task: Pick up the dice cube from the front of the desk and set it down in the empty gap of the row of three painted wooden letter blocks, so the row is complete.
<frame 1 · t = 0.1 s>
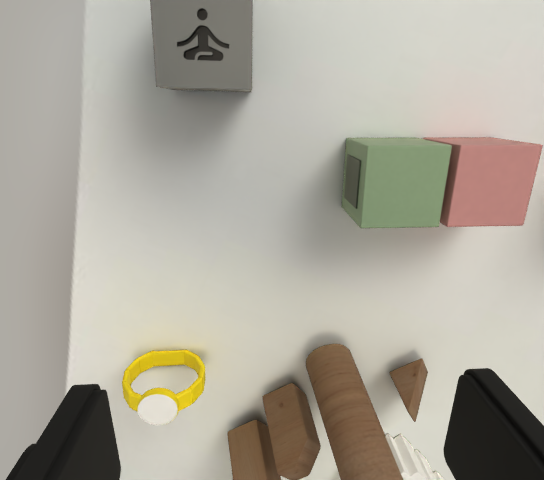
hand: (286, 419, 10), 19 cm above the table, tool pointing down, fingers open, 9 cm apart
letter block A: (377, 173, 27), on the table
letter block B: (451, 172, 27), on the table
watch: (172, 354, 32), on the table
dice cube: (211, 48, 24), on the table
wooden block set: (317, 385, 34), on the table
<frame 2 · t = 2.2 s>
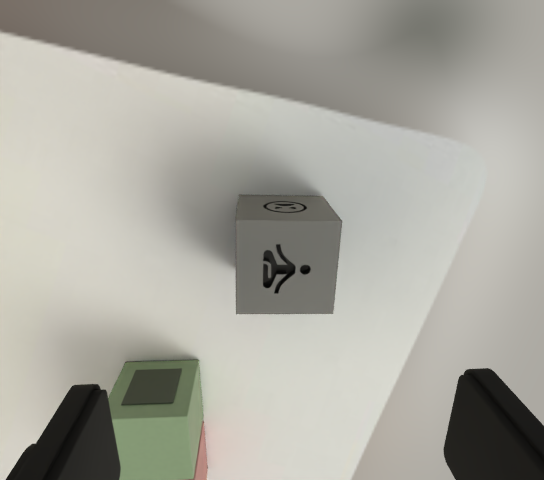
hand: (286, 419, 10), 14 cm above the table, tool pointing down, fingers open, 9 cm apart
letter block A: (165, 389, 27), on the table
letter block B: (172, 447, 28), on the table
dice cube: (279, 234, 23), on the table
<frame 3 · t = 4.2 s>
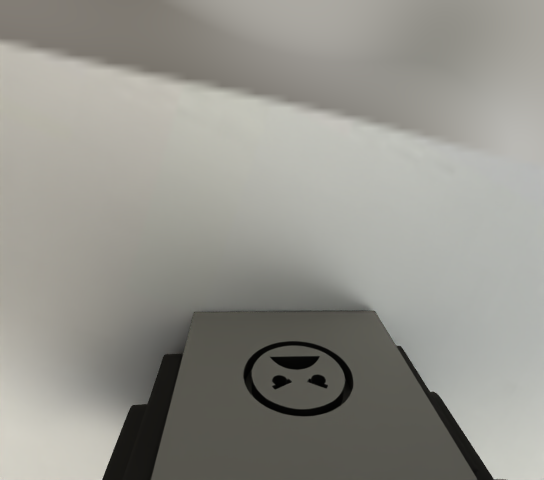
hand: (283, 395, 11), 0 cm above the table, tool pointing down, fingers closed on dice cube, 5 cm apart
dice cube: (281, 380, 11), on the table, touching gripper
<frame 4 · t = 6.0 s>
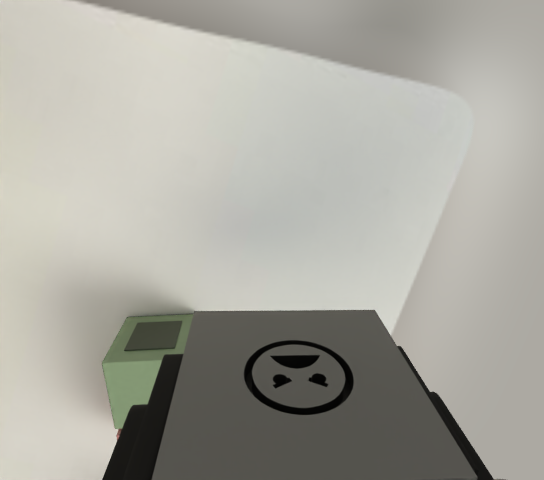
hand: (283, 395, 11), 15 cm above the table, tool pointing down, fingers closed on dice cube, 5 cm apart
letter block A: (166, 344, 27), on the table
dice cube: (281, 379, 11), point 14 cm above the table, touching gripper
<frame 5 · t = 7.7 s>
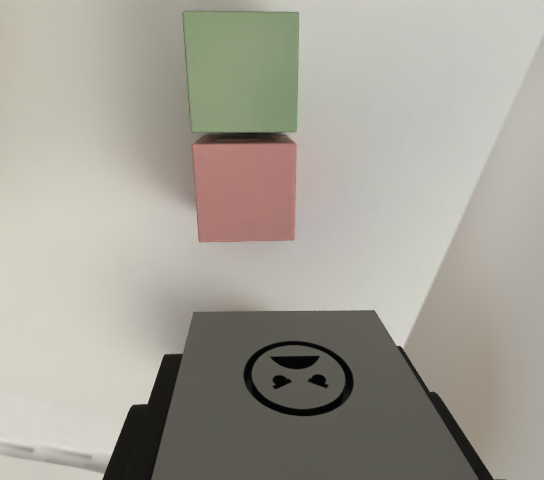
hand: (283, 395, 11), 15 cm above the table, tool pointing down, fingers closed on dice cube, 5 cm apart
letter block A: (243, 81, 22), on the table
letter block B: (246, 176, 23), on the table
dice cube: (281, 379, 11), point 14 cm above the table, touching gripper
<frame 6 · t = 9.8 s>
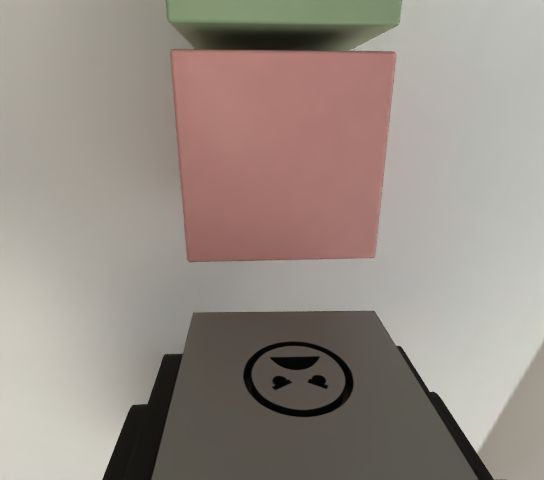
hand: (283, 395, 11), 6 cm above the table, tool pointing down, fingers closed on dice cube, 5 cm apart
letter block B: (271, 144, 14), on the table
dice cube: (281, 380, 11), point 5 cm above the table, touching gripper
when the fingers open (0 cm above the table, at t = 11.4 s): dice cube stays where it is, on the table.
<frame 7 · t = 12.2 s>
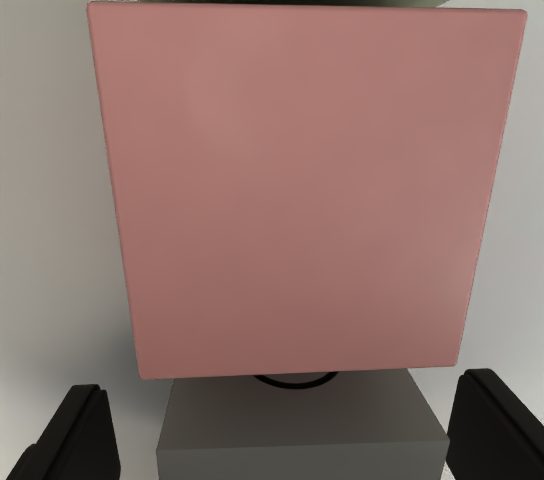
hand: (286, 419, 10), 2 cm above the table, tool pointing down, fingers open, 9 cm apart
letter block B: (277, 164, 10), on the table
dice cube: (278, 365, 12), on the table
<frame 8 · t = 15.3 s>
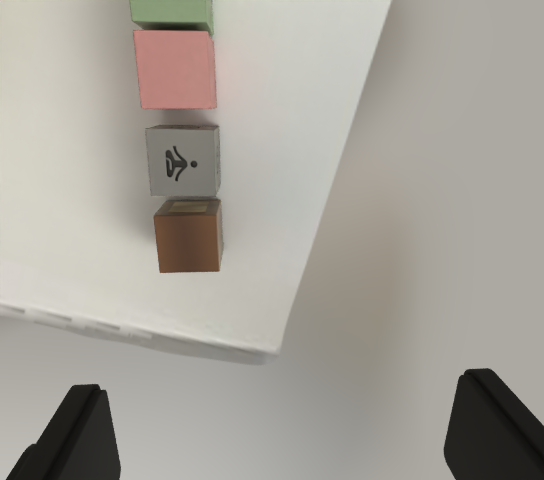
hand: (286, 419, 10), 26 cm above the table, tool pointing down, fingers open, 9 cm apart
letter block C: (195, 225, 35), on the table
letter block B: (184, 75, 31), on the table
dice cube: (191, 154, 33), on the table
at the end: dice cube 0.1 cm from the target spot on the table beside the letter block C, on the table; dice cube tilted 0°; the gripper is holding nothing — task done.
